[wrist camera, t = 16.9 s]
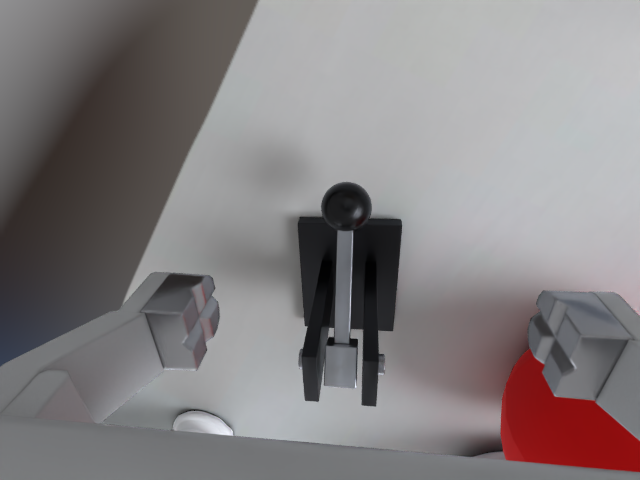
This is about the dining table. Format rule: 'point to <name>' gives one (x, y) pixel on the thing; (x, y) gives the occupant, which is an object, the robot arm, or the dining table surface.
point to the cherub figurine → (201, 423)
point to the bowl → (492, 455)
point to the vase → (560, 425)
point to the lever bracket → (367, 295)
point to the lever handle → (344, 278)
